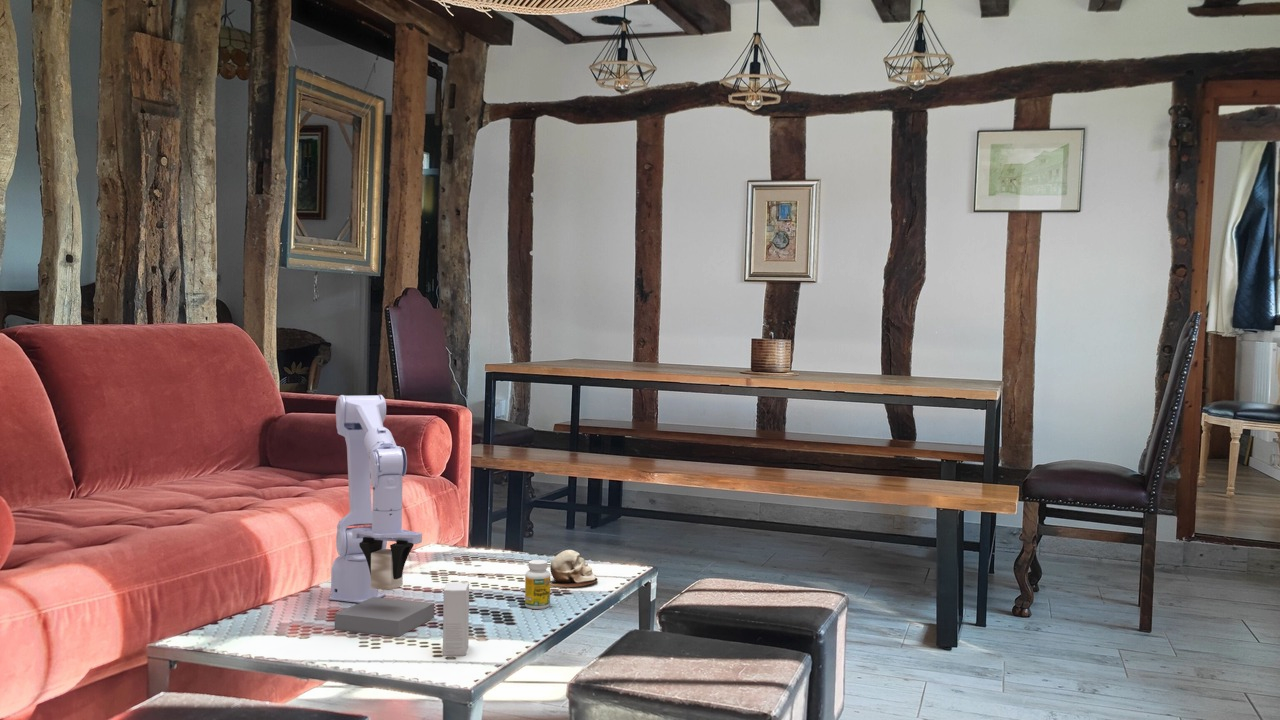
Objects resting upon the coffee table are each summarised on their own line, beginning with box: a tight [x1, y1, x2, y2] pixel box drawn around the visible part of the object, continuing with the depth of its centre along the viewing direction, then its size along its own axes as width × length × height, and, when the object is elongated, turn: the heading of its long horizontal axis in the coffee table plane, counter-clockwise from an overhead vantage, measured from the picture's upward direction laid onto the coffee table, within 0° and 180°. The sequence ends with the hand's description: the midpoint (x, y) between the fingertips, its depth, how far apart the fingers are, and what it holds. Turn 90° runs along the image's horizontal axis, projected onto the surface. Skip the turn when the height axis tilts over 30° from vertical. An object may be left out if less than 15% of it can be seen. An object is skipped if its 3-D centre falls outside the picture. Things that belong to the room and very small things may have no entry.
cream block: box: [371, 548, 404, 591], centre depth 203 cm, size 4×4×7 cm
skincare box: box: [442, 581, 470, 657], centre depth 187 cm, size 6×4×12 cm
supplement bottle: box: [524, 559, 551, 610], centre depth 219 cm, size 5×5×10 cm
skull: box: [549, 549, 598, 588], centre depth 241 cm, size 12×10×10 cm
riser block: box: [334, 597, 435, 638], centre depth 203 cm, size 14×14×3 cm
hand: (386, 577), depth 203 cm, fingers closed on cream block, 4 cm apart
